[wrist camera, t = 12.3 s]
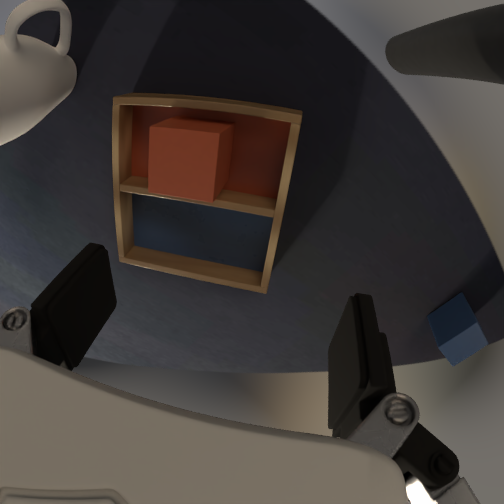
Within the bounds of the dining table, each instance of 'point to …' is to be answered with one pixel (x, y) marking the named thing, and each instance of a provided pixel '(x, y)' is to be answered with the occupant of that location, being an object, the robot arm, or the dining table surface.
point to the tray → (199, 212)
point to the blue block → (457, 330)
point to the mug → (33, 70)
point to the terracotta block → (190, 157)
